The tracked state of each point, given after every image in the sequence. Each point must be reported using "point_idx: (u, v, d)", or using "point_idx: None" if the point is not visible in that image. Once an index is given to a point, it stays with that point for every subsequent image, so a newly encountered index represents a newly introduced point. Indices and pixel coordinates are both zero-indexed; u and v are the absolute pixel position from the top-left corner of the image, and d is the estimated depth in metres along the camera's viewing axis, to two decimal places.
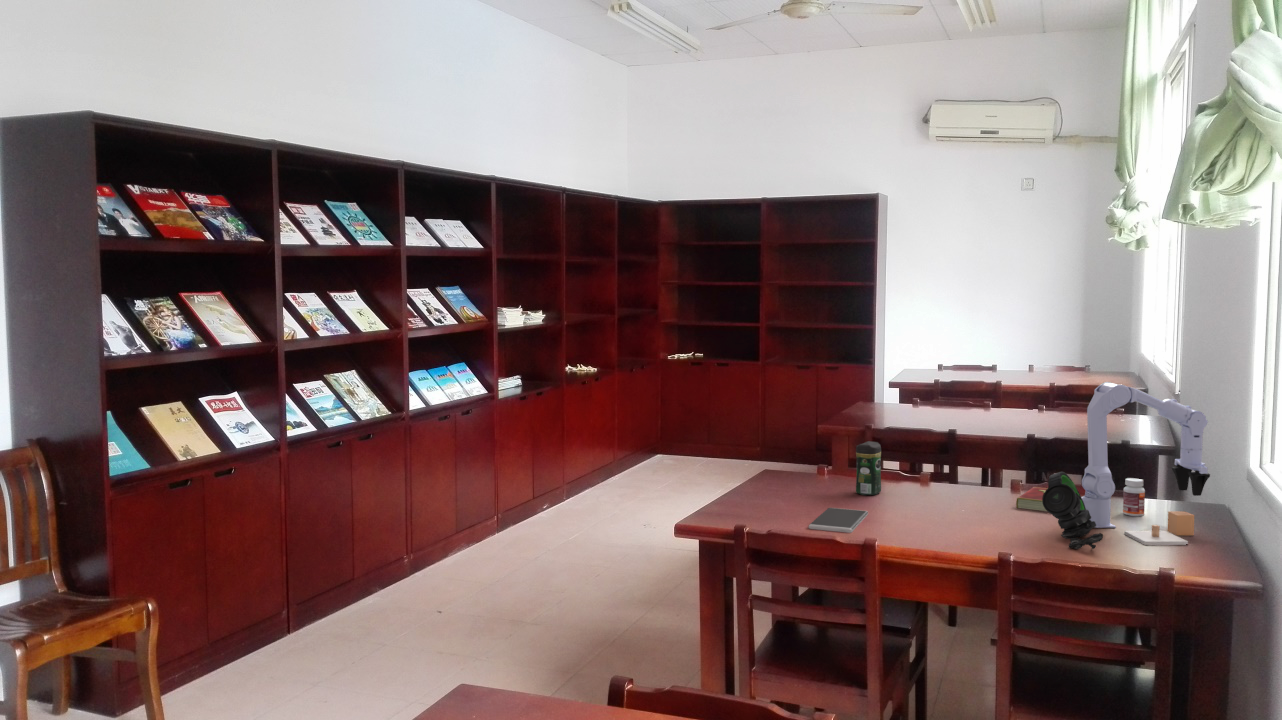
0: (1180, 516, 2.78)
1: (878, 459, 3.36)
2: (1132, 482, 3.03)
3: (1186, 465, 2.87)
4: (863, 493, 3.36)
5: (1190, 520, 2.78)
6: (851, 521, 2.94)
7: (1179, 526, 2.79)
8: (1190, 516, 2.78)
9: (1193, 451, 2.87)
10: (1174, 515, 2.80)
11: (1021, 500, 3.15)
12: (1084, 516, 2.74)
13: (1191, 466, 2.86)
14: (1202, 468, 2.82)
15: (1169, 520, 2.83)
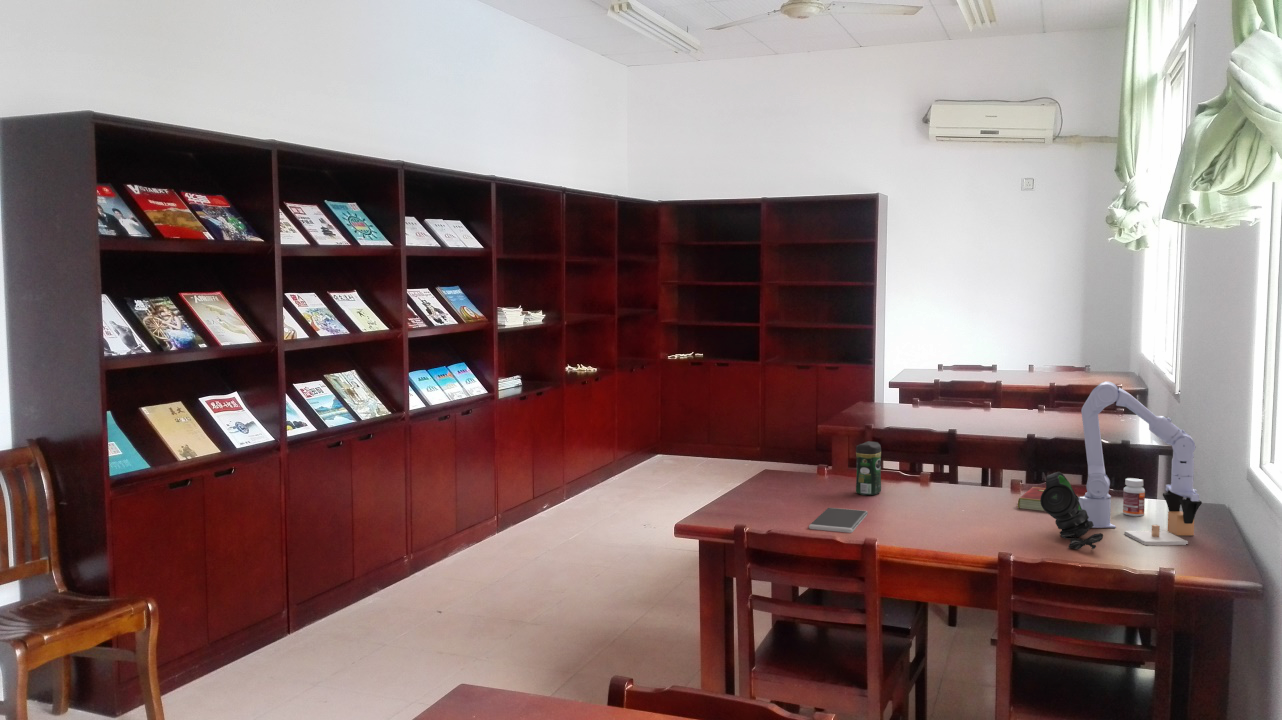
0: (1180, 516, 2.78)
1: (878, 459, 3.36)
2: (1132, 482, 3.03)
3: (1177, 492, 2.78)
4: (863, 493, 3.36)
5: None
6: (851, 521, 2.94)
7: (1179, 526, 2.79)
8: None
9: (1184, 477, 2.77)
10: (1174, 515, 2.80)
11: (1023, 500, 3.15)
12: (1082, 516, 2.74)
13: (1182, 493, 2.77)
14: (1194, 495, 2.73)
15: (1169, 520, 2.83)
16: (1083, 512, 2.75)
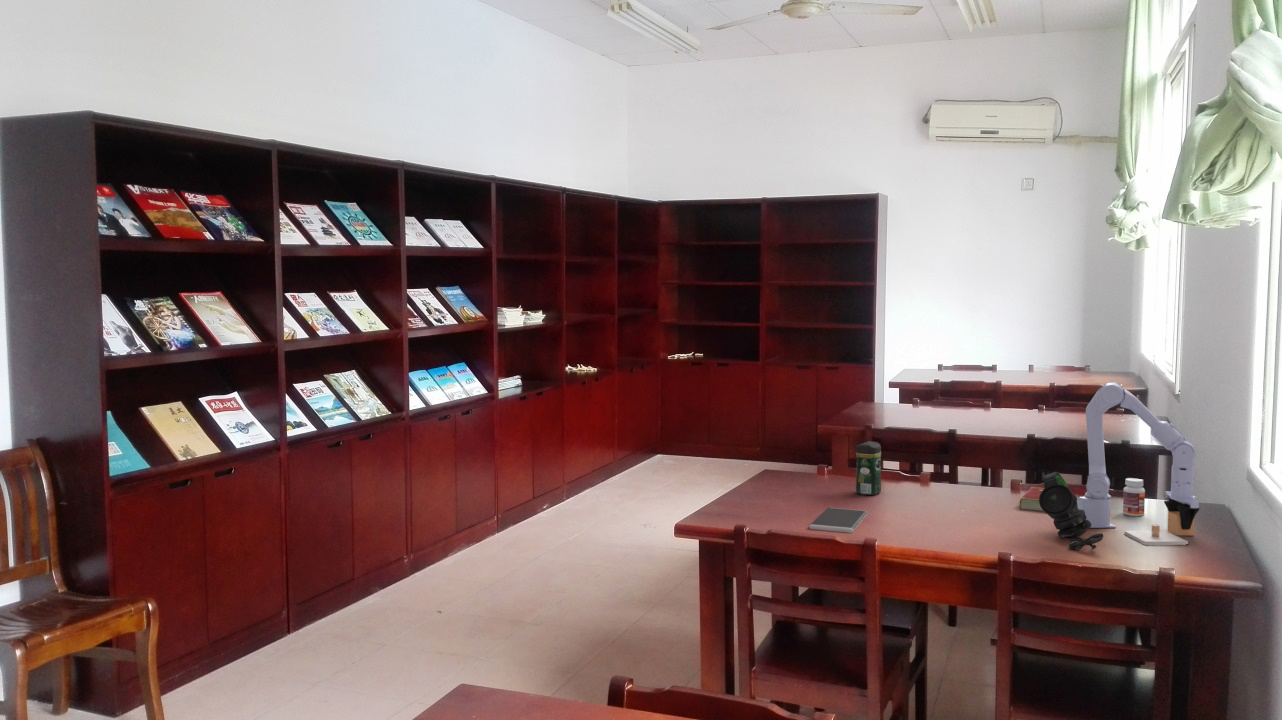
0: None
1: (878, 459, 3.36)
2: (1132, 482, 3.03)
3: (1177, 499, 2.78)
4: (863, 493, 3.36)
5: None
6: (851, 521, 2.94)
7: (1179, 526, 2.79)
8: None
9: (1184, 484, 2.78)
10: (1174, 515, 2.80)
11: (1024, 501, 3.14)
12: (1081, 516, 2.73)
13: (1182, 500, 2.77)
14: (1193, 502, 2.73)
15: (1169, 520, 2.83)
16: (1081, 512, 2.75)
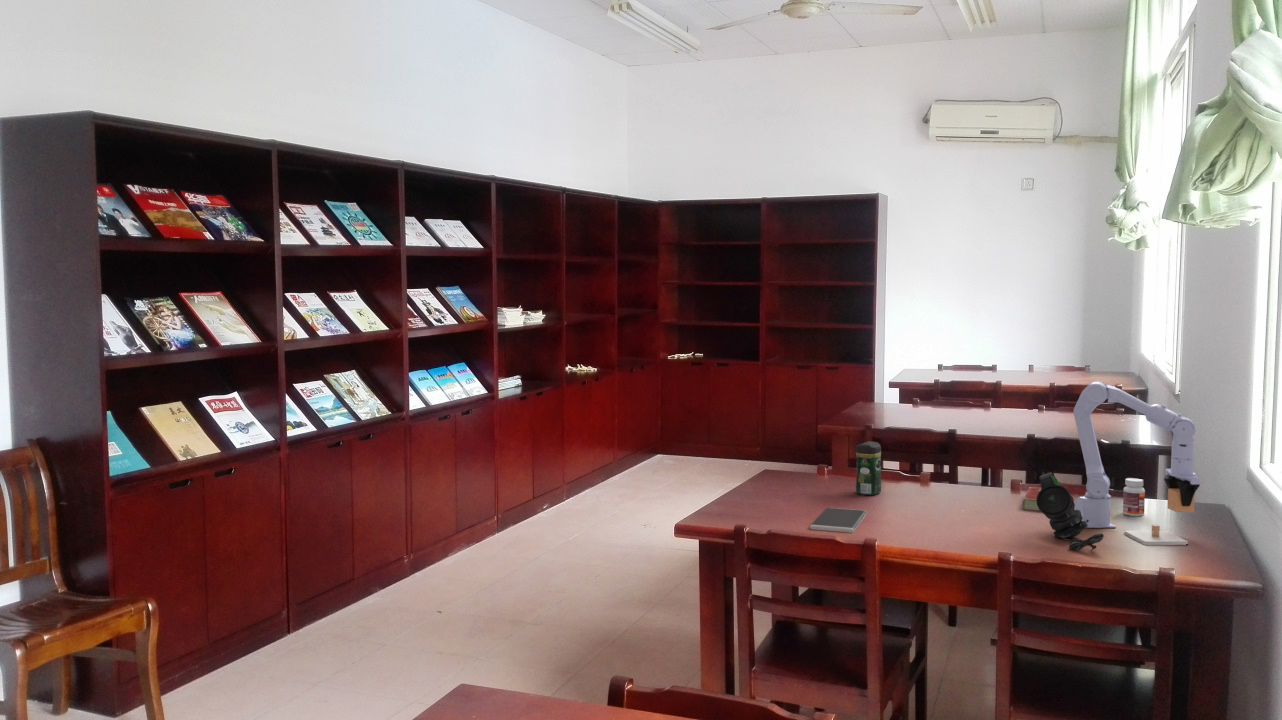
0: None
1: (878, 459, 3.36)
2: (1132, 482, 3.03)
3: (1177, 475, 2.78)
4: (863, 493, 3.36)
5: None
6: (852, 521, 2.94)
7: (1179, 503, 2.78)
8: None
9: (1184, 461, 2.77)
10: (1174, 492, 2.79)
11: (1028, 501, 3.13)
12: (1078, 517, 2.73)
13: (1182, 476, 2.76)
14: (1194, 479, 2.73)
15: (1169, 497, 2.82)
16: (1078, 512, 2.74)
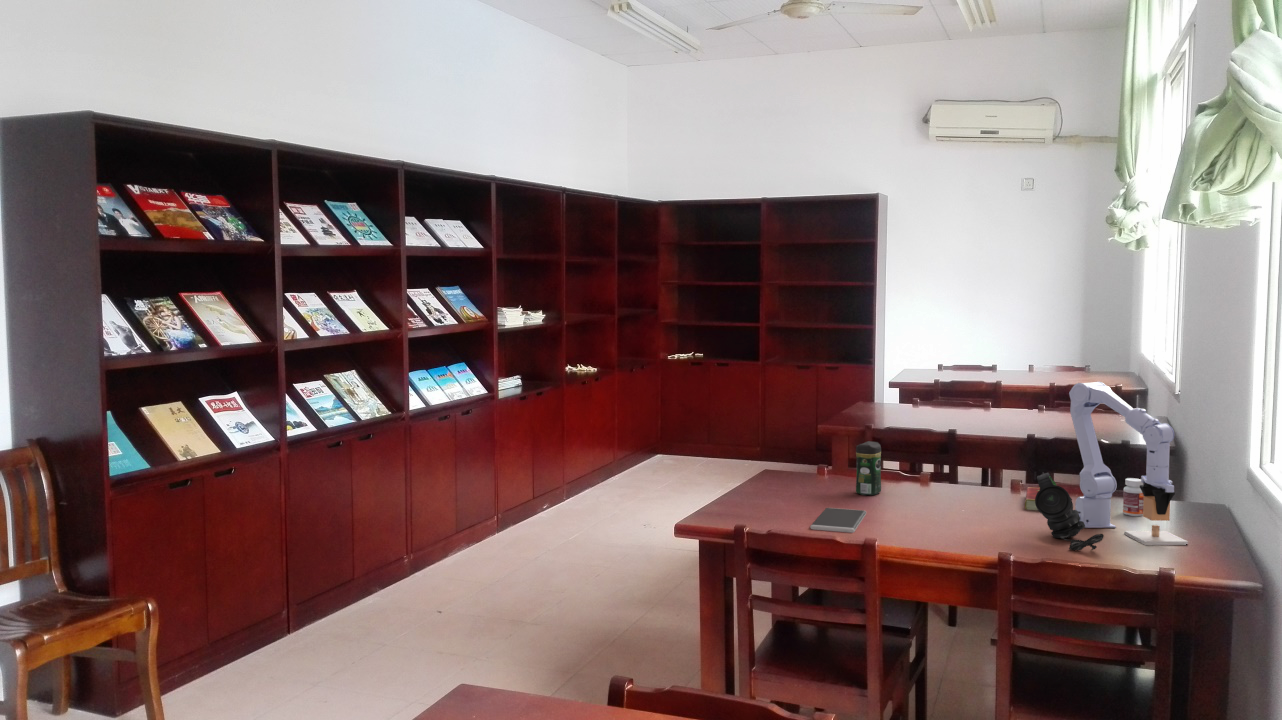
0: None
1: (878, 459, 3.36)
2: (1132, 482, 3.03)
3: (1152, 483, 2.71)
4: (863, 493, 3.36)
5: None
6: (852, 521, 2.94)
7: (1154, 511, 2.71)
8: None
9: (1159, 468, 2.70)
10: (1149, 500, 2.73)
11: (1030, 501, 3.13)
12: (1076, 517, 2.73)
13: (1157, 484, 2.70)
14: (1169, 486, 2.66)
15: (1145, 505, 2.75)
16: (1076, 512, 2.74)
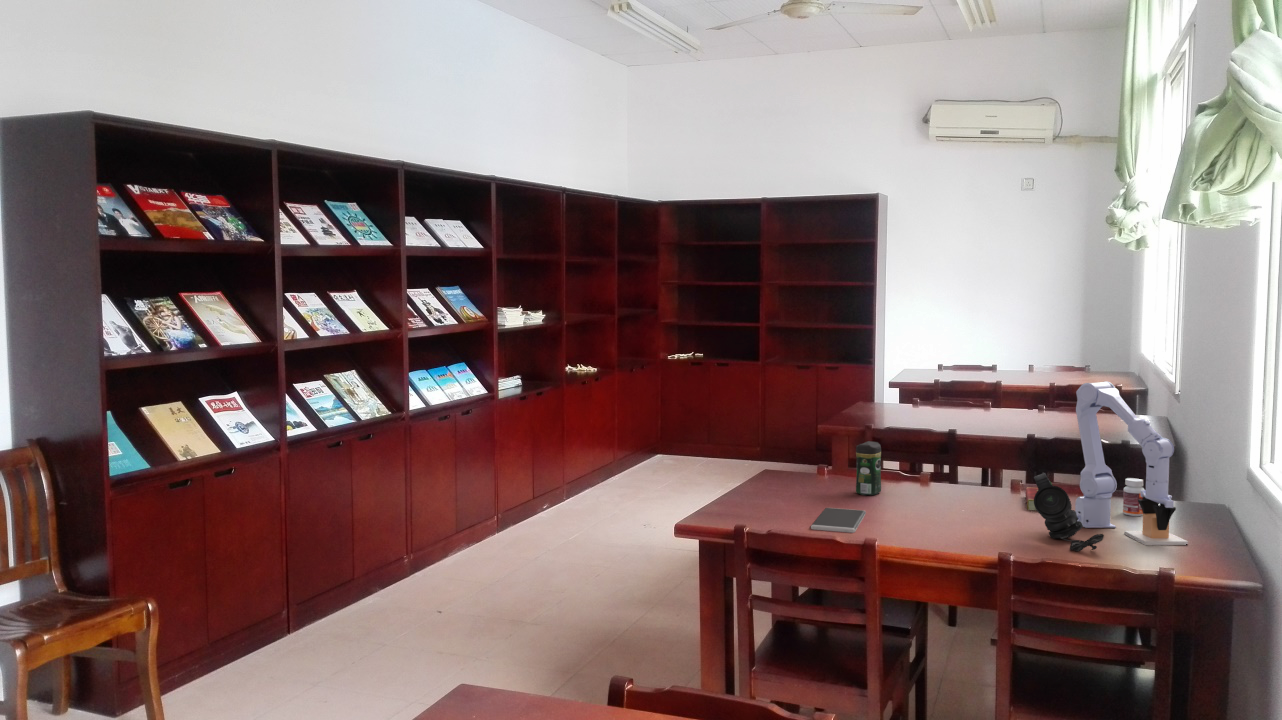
0: (1154, 518, 2.72)
1: (878, 459, 3.36)
2: (1132, 482, 3.03)
3: (1151, 498, 2.72)
4: (863, 493, 3.36)
5: None
6: (852, 521, 2.94)
7: (1154, 529, 2.72)
8: None
9: (1159, 483, 2.71)
10: (1149, 517, 2.73)
11: (1032, 502, 3.12)
12: (1074, 517, 2.73)
13: (1156, 499, 2.70)
14: (1168, 502, 2.66)
15: (1144, 522, 2.76)
16: (1073, 513, 2.74)
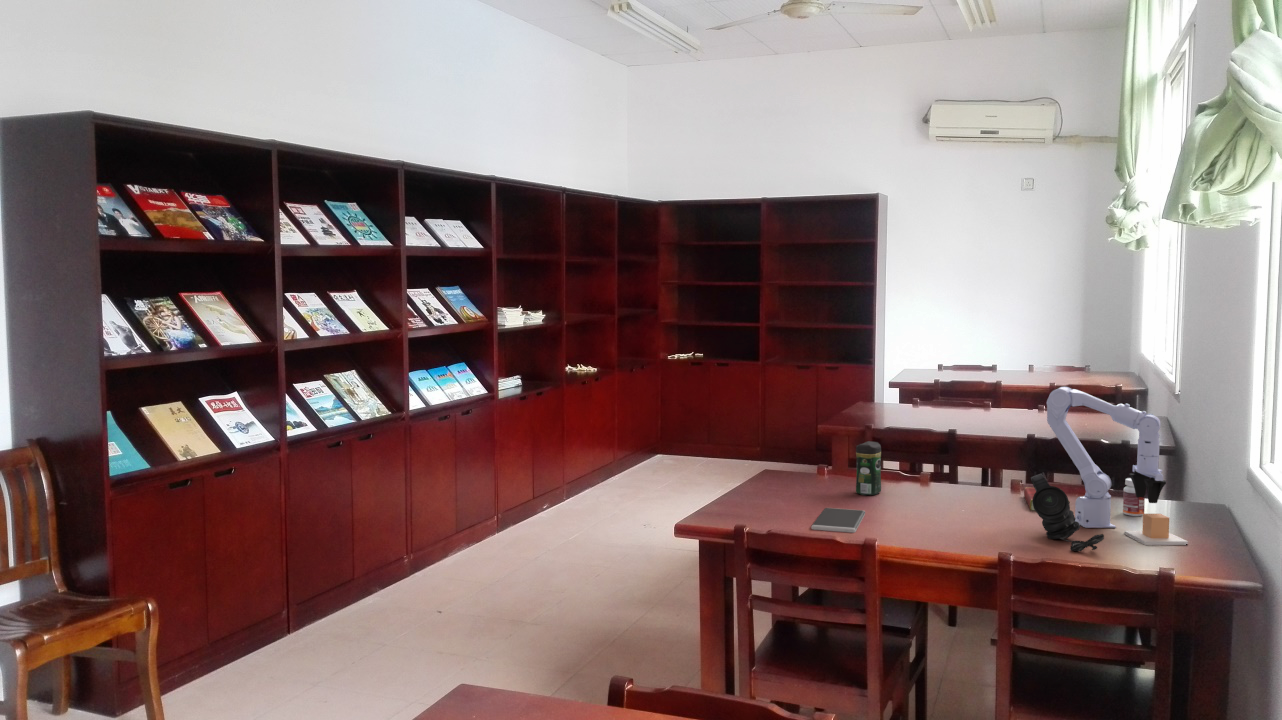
0: (1154, 518, 2.72)
1: (878, 459, 3.36)
2: (1132, 482, 3.03)
3: (1142, 472, 2.81)
4: (863, 493, 3.36)
5: (1165, 522, 2.72)
6: (852, 521, 2.94)
7: (1154, 529, 2.72)
8: (1165, 518, 2.72)
9: (1149, 457, 2.80)
10: (1149, 517, 2.73)
11: None
12: (1072, 517, 2.73)
13: (1147, 473, 2.79)
14: (1158, 475, 2.76)
15: (1144, 522, 2.76)
16: (1071, 513, 2.74)
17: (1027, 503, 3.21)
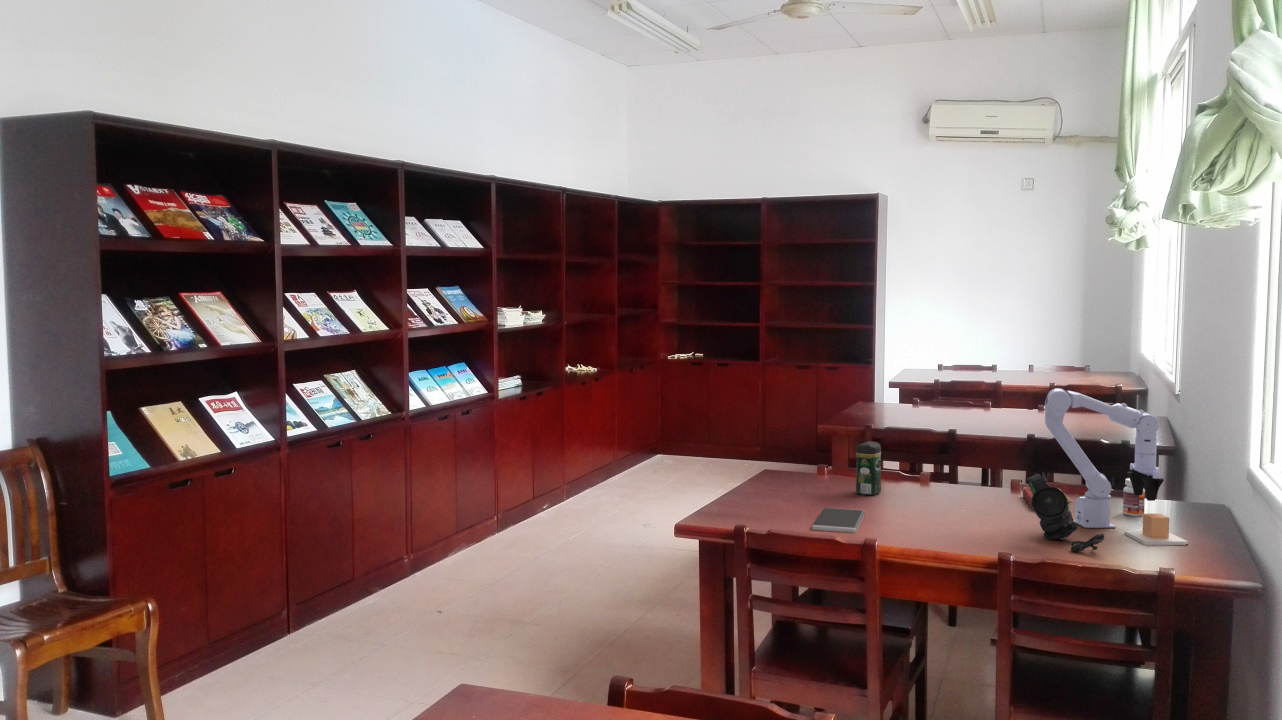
0: (1154, 518, 2.72)
1: (878, 459, 3.36)
2: None
3: (1140, 470, 2.84)
4: (863, 493, 3.36)
5: (1165, 522, 2.72)
6: (852, 521, 2.94)
7: (1154, 529, 2.72)
8: (1165, 518, 2.72)
9: (1147, 456, 2.83)
10: (1149, 517, 2.73)
11: None
12: (1070, 517, 2.72)
13: (1145, 471, 2.82)
14: (1156, 473, 2.79)
15: (1144, 522, 2.76)
16: (1069, 513, 2.74)
17: (1028, 503, 3.21)
